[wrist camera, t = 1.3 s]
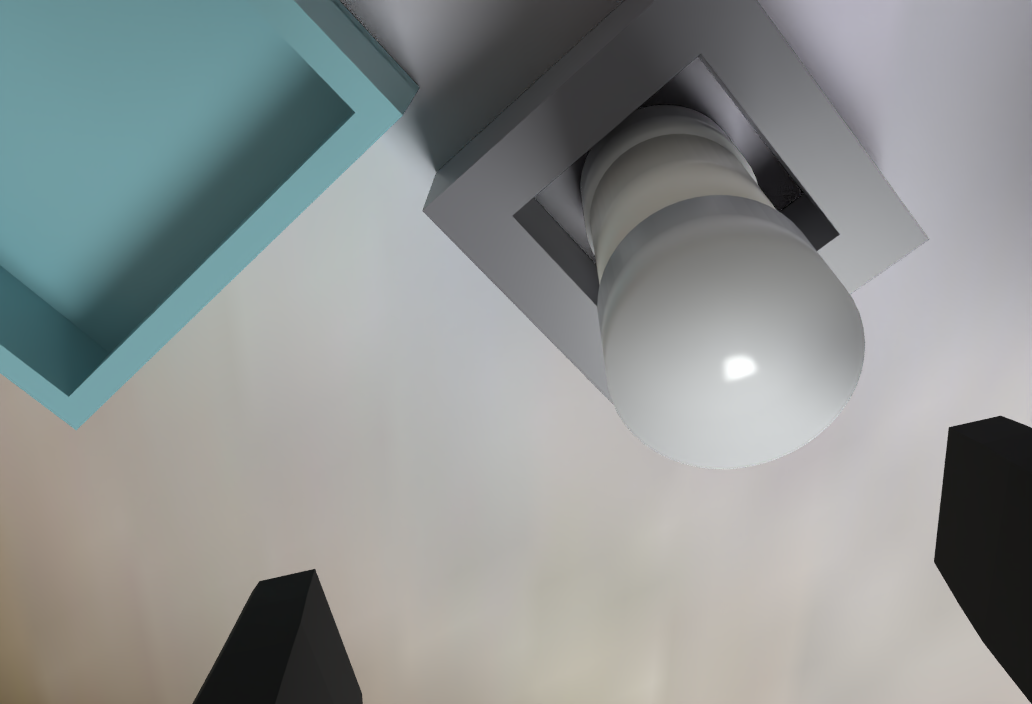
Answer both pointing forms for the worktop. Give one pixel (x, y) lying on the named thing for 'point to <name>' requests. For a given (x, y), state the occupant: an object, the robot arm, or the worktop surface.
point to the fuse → (711, 298)
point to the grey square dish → (613, 97)
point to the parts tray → (161, 166)
